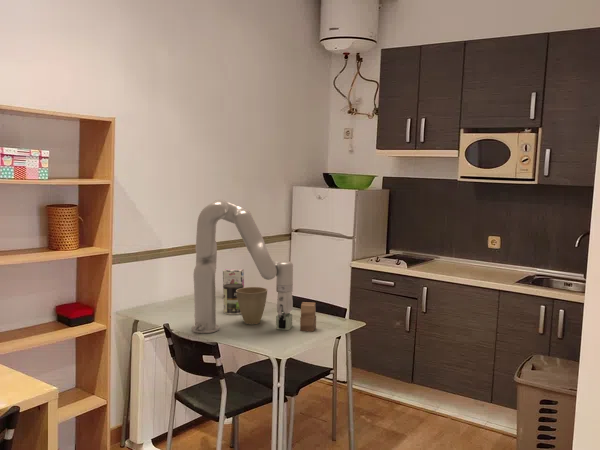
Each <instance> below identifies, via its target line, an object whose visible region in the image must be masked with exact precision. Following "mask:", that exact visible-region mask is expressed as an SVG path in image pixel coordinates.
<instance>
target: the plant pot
mask: <svg viewBox="0 0 600 450" xmlns="http://www.w3.org/2000/svg"><path fill="white" fill-rule="evenodd" d="M236 293H237V299H238V304H239V308H240V311H241V314H240V315H241V317H242V321H243V322H244V323H245V325H259V324H260V323H261V321H262V319H263V318H262V317H263V315H264V311H265V308H266V307H265V306H266V303H267V298H268V289H267V288H265V287H263V286H262V287H261V286H246V287H245V286H244V288H240V289H237V290H236Z"/></svg>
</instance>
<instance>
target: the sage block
mask: <svg viewBox="0 0 600 450" xmlns="http://www.w3.org/2000/svg"><path fill="white" fill-rule="evenodd" d="M283 316H284V315H283ZM285 320H286V328H285V329H283V328H279V316H278V314H277V315H276V316H275V329H276V330H281V331H282V330H283V331H289V330H290V329H292V327H293V314H292V313H290V314H285Z"/></svg>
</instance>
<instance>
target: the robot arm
mask: <svg viewBox="0 0 600 450" xmlns="http://www.w3.org/2000/svg"><path fill="white" fill-rule="evenodd" d="M220 220H223V221H226V222H228V223H232V224H234V225H235V227H236V229H237V231H238V233H239V235H240V237H241V239H242V240H243V243H244V244H245V247H246V249H247V251H248V253H249V254H250V256H251V258H252V261H253V262H254V265H255V266H256V268H257V270H258V272H259V274H260V276H261V277H262V278H263V279H264V280H266V281H267V280H268V281H271V280H273V279H274V278H275V277H276V286H275V287H276V293H277V301H276V311H277V315H278V316H279V328H283V329H285V328H286V320H285V314H291V312H292V311H293V308H294V307H293V306H294V305H293V303H294V302H293V292H294V290H293V289H294V287H293V285H294V282H293V281H294V264H293V262H292V261H288V260H281V261H276V260H272V257H271V256H270V254H269V251H268V249H267V247H266V243H265V240H264V237H263V236H262V233H261V232H260V229H259V227H258V226H257V223H256V221H255V220H254V217H253V216H252V213H251V211H250V210H249V209H247V208H244V207H242V206H239V205H236V204H233V203H232V202H230V201H226V200H223V199H217V200H215V201H213V202H211V203H209V204H207V205H206V206H204V207H203V209H201V211H200V213H199V214H198V218H197V225H196V237H195V239H196V240H195V247H194V248H195V255H196V257H195V258H196V259H195V267H194V269H193V289H194V291H193V292H194V296H193V297H194V299H193V300H194V325H193V326H192V327H191V331H192V332H193V333H196V334H211V333H216V332H218V331H220V326H219V325H218V324H217V312H216V311H217V310H216V307H217V306H216V305H217V304H216V301H217V300H216V297H217V296H216V272H217V253H218V245H217V244H218V243H217V241H216V232H217V224H218V221H220ZM283 315H284V316H283Z"/></svg>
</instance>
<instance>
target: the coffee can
mask: <svg viewBox="0 0 600 450" xmlns="http://www.w3.org/2000/svg"><path fill="white" fill-rule="evenodd" d="M240 288H243V285H242V284H225V285H223V284H222V292H223V294H222V296H223V295H224V299H223V314H225V315H233V316H234V315H235V316H236V315H242V314H241V311H240V308H239V304H238V299H237V293H236V290H237V289H240Z"/></svg>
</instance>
